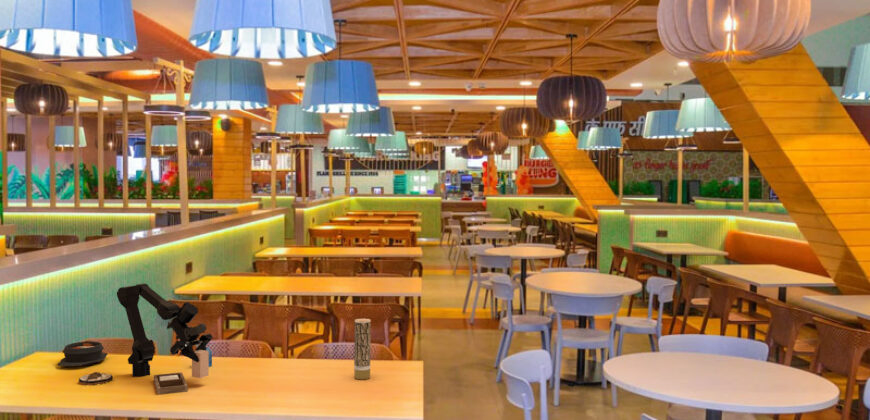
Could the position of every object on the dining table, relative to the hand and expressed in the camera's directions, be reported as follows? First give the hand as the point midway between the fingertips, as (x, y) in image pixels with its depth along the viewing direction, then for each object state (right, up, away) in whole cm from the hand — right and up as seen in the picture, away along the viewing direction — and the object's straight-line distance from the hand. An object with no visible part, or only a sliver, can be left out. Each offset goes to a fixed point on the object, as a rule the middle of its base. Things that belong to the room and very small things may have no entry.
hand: (202, 360), depth 285 cm
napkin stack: (-15, -10, +4) cm, 19 cm away
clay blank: (-1, -7, +1) cm, 7 cm away
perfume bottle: (-11, -10, +32) cm, 35 cm away
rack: (-13, -11, 0) cm, 17 cm away
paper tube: (+62, -12, +18) cm, 66 cm away
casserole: (-67, -9, +37) cm, 77 cm away
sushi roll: (-47, -11, +8) cm, 49 cm away
